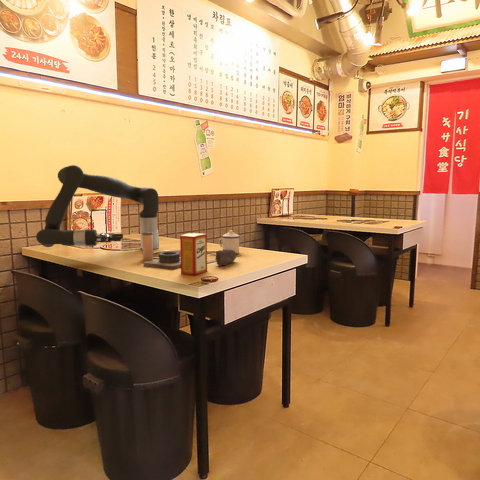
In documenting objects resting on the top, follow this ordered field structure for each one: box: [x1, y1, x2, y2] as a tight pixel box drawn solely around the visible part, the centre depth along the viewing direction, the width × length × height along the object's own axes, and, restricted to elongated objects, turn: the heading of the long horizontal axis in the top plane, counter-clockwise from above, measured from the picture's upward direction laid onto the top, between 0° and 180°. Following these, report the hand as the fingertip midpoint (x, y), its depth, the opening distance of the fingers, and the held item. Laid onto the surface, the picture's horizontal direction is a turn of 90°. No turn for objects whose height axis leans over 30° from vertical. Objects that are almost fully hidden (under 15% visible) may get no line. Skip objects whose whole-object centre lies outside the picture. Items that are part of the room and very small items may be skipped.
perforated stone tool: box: [214, 249, 237, 267], centre depth 179 cm, size 15×5×7 cm, turn 148°
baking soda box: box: [179, 232, 208, 277], centre depth 161 cm, size 10×6×16 cm
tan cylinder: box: [142, 232, 154, 261], centre depth 188 cm, size 5×5×13 cm
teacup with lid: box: [218, 229, 240, 254], centre depth 208 cm, size 12×9×12 cm
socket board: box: [143, 251, 181, 271], centre depth 178 cm, size 16×16×5 cm
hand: (122, 237), depth 185 cm, fingers open, 8 cm apart
